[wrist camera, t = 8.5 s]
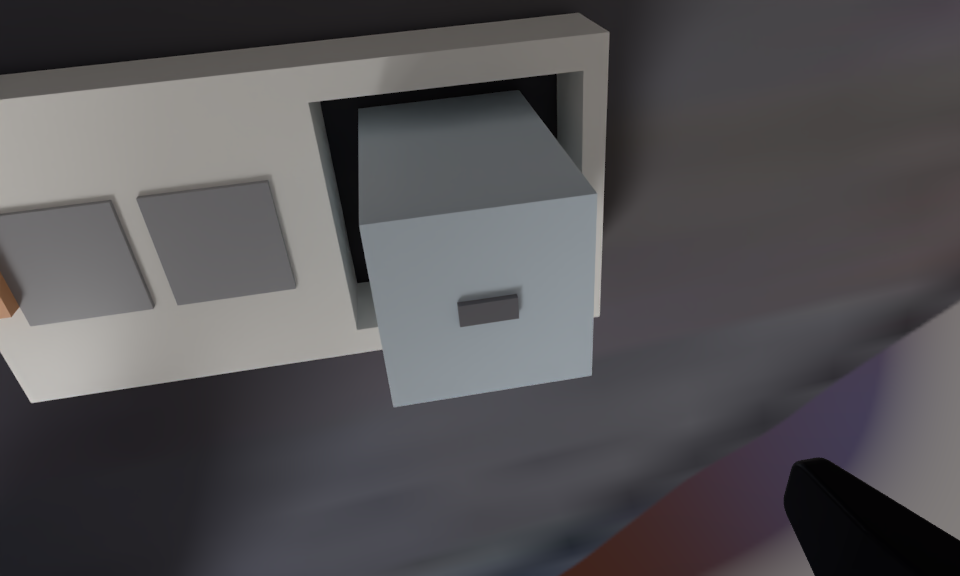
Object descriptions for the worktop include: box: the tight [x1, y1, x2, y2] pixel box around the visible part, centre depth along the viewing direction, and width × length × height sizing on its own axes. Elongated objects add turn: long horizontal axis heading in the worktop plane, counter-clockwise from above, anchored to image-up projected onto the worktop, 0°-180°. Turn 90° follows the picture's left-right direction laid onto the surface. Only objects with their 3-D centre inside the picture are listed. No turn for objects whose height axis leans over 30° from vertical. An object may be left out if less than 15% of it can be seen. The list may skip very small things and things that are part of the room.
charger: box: [358, 90, 597, 407], centre depth 16 cm, size 4×4×7 cm
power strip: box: [0, 13, 610, 403], centre depth 17 cm, size 16×8×3 cm, turn 94°
